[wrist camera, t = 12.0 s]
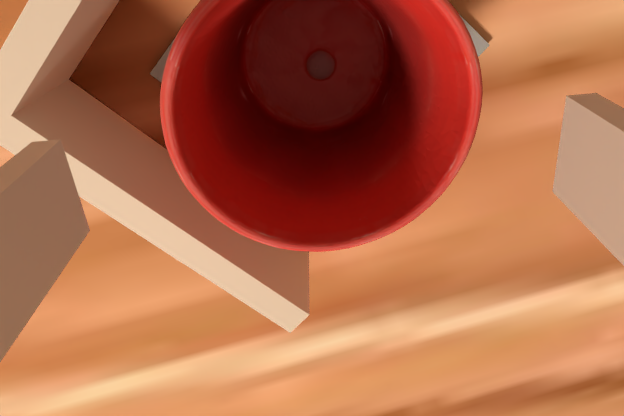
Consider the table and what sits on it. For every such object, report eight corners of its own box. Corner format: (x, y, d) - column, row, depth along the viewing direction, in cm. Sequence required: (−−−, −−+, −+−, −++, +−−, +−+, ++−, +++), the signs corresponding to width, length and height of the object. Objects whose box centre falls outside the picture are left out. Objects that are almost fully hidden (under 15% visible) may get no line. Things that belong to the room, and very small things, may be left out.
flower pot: (434, 139, 29) (490, 229, 20) (235, 174, 29) (206, 274, 21) (417, -83, 24) (480, -90, 15) (179, -34, 25) (110, -15, 16)
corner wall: (28, 82, 27) (-40, 119, 22) (232, -253, 21) (207, -314, 16) (292, 267, 33) (290, 332, 27) (516, 41, 27) (569, 69, 21)
